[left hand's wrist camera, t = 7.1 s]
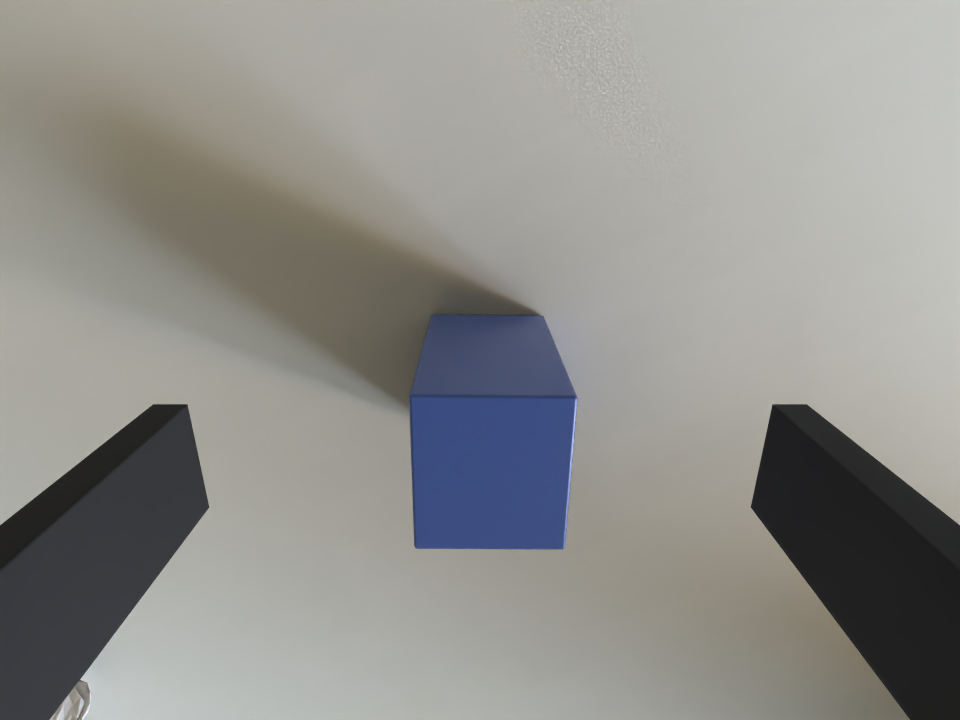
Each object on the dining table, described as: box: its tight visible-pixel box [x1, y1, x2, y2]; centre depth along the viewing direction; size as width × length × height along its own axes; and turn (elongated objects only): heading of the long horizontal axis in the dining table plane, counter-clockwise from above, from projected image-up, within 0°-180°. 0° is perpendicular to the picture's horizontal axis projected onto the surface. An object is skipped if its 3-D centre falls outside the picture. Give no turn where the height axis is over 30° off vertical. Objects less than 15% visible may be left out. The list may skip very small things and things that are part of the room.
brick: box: [409, 314, 577, 549], centre depth 20 cm, size 5×5×8 cm
